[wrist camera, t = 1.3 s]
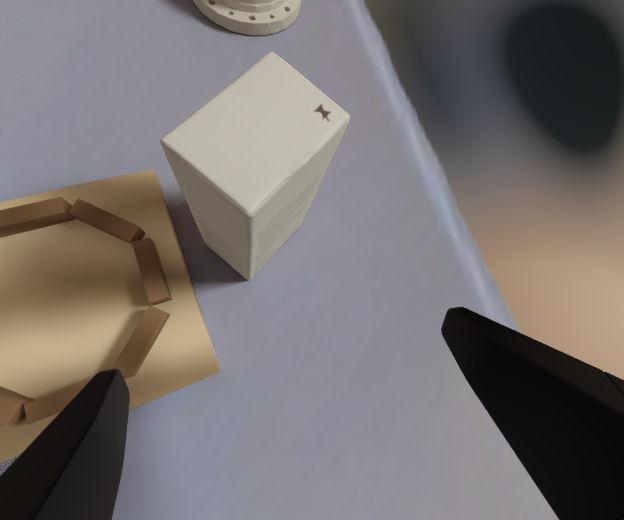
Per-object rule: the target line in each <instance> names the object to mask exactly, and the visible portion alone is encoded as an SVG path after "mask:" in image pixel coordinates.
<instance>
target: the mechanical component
mask: <svg viewBox="0 0 624 520" xmlns="http://www.w3.org/2000/svg"><path fill="white" fill-rule="evenodd" d="M192 1H193V2H194V4H195V5H196V6H197V7H198V9H199V10H200V11H201V12H202V13H203V14H204V15H205V16H207V17H208V18H209V19H210V20H212V21H213V22H214V23H216V24H218V25H220V26H222V27H224V28H226V29H228V30H230V31H233V32H238V33H242V34H247V35H268V34H274V33H276V32H279V31H281V30H284V29H286V28H287V27H288V26H289V25H290V24H292V23H293V22H294V21H295V19H296V18H297V16H298V14H299V10H300V6H301V1H302V0H192Z"/></svg>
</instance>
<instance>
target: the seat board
mask: <svg viewBox="0 0 624 520" xmlns="http://www.w3.org/2000/svg"><path fill="white" fill-rule="evenodd" d="M115 368H116V369H119V370H120V371H121V373H122V375H123V377H124V380H125V382H126V384H127V387H128V389H129V392H130V404H129V409H132V408H134V407H137V406H139V405H141V404H144V403H146V402H148V401H151V400H153V399H156V398H158V397H160V396H163V395H165V394H168V393H170V392H172V391H175V390H177V389H180V388H182V387H184V386H187V385H189V384H192V383H194V382H196V381H199V380H201V379H204V378H206V377H208V376H211V375H213V374H216V373H218V372H219V371H220V368H219V365H218V362H217V359H216V355H215V352H214V349H213V346H212V343H211V340H210V337H209V334H208V331H207V328H206V325H205V322H204V319H203V316H202V313H201V310H200V306H199V303H198V300H197V297H196V294H195V291H194V288H193V285H192V282H191V279H190V276H189V273H188V270H187V267H186V264H185V261H184V257H183V254H182V251H181V248H180V245H179V242H178V239H177V236H176V233H175V230H174V227H173V224H172V221H171V218H170V215H169V212H168V209H167V205H166V202H165V199H164V196H163V193H162V190H161V187H160V184H159V181H158V178H157V176H156V174H155V172H154V170H153V169H149V170H145V171H140V172H135V173H131V174H126V175H122V176H117V177H112V178H108V179H103V180H99V181H94V182H89V183H85V184H80V185H76V186H71V187H66V188H62V189H57V190H52V191H48V192H43V193H39V194H34V195H29V196H25V197H20V198H16V199H11V200H6V201H2V202H0V463H2V462H5V461H7V460H10V459H12V458H14V457H17V456H19V455H20V454H21V453H22V452H23V451H24V450H25V449H26V448H27V447H28V446H29V445H30V444H31V443H32V442H33V440H34V439H35V438H36V437H37V436H38V435H39V434H40V433H41V432H42V431H43V430H44V429H45V428H46V427H47V426H48V424H49V423H50V422H51V421H52V420H53V419H54V418H55V417H56V416H57V415H58V414H59V413H60V412H61V411H62V410H63V408H64V407H65V406H66V405H67V404H68V403H69V402H70V401H71V400H72V399H73V398H74V397H75V396H76V395H77V394H78V392H79V391H80V390H81V389H82V388H83V387H84V386H85V385H86V384H87V383H88V382H89V381H90V380H91V379H92V378H93V376H94V375H95V374H97V373H98V372H100V371H104V370H110V369H115Z"/></svg>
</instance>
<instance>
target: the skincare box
mask: <svg viewBox="0 0 624 520" xmlns="http://www.w3.org/2000/svg"><path fill="white" fill-rule="evenodd" d="M349 120H350V115H349V114H348V113H347V112H346V111H344V110H343V109H342V108H341V107H340V106H338V105H337V104H336V103H335V102H333V101H332V100H331V99H330V98H329V97H327V96H326V95H325V94H324V93H323V92H321V91H320V90H319V89H318V88H317V87H315V86H314V85H313V84H312V83H311V82H309V81H308V80H307V79H306V78H305V77H304V76H302V75H301V74H300V73H299V72H298V71H296V70H295V69H294V68H293V67H292V66H290V65H289V64H288V63H287V62H285V61H284V60H283V59H282V58H280V57H279V56H278V55H276V54H275V53H273V52H269V53H268V54H267V55H265V56H264V57H263V58H262V59H260V60H259V61H258V62H257V63H255V64H254V65H253V66H252V67H250V68H249V69H248V70H247V71H245V72H244V73H243V74H242V75H240V76H239V77H238V78H237V79H235V80H234V81H233V82H232V83H231V84H229V85H228V86H227V87H226V88H224V89H223V90H222V91H221V92H220V93H218V94H217V95H216V96H215V97H214V98H212V99H211V100H210V101H209V102H207V103H206V104H205V105H204V106H202V107H201V108H200V109H198V110H197V111H196V112H195V113H193V114H192V115H191V116H190V117H188V118H187V119H186V120H185V121H184V122H182V123H181V124H180V125H179V126H177V127H176V128H175V129H173V130H172V131H171V132H170V133H168V134H167V135H165V136H164V137H163V138H162V139H161V141H160V142H161V145H162V147H163V150H164V152H165V154H166V157H167V159H168V161H169V163H170V166H171V168H172V170H173V172H174V175H175V177H176V179H177V181H178V184H179V186H180V188H181V191H182V193H183V195H184V197H185V199H186V201H187V204H188V206H189V208H190V211H191V213H192V215H193V217H194V220H195V222H196V224H197V227H198V229H199V231H200V233H201V236H202V238H203V240H204V243H205V244H206V245H207V246H208V247H209V248H211V249H212V250H213V251H214V252H215V253H216V254H218V255H219V256H220V257H221V258H222V259H223V260H224V261H226V262H227V263H228V264H229V265H230V266H231V267H233V268H234V269H235V270H236V271H237V272H238V273H240V274H241V275H242V276H243V277H244V278H245V279H247V280H251V279H252V278H253V277H254V275H255V274H256V273H257V272H258V271H259V270H260V269H261V268H262V267H263V266H264V264H265V263H266V262H267V261H268V260H269V259H270V258H271V257H272V256H273V255H274V253H275V252H276V251H277V250H278V249H279V248H280V247H281V246H282V245H283V243H284V242H285V241H286V240H287V239H288V238H289V237H290V236H291V235H292V233H293V232H294V231H295V230H296V229H297V228H298V227H299V226H300V225H301V223H302V221H303V219H304V217H305V215H306V213H307V211H308V208H309V206H310V204H311V202H312V200H313V197H314V195H315V193H316V191H317V189H318V187H319V185H320V183H321V180H322V178H323V176H324V174H325V172H326V170H327V168H328V165H329V163H330V161H331V159H332V157H333V155H334V153H335V151H336V149H337V147H338V145H339V143H340V140H341V138H342V136H343V134H344V132H345V129H346V127H347V125H348V122H349Z"/></svg>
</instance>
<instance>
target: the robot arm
mask: <svg viewBox="0 0 624 520" xmlns="http://www.w3.org/2000/svg"><path fill="white" fill-rule="evenodd" d="M441 331H442V335H443V338H444V339H445V341H446V343H447V345H448V347H449V349H450V351H451V352H452V354H453V356H454V358H455V360H456V362H457V364H458V365H459V367H460V369H461V371H462V373H463V375H464V376H465V378H466V380H467V381H468V383H469V385H470V386H471V388H472V389H473V391H474V392H475V394H476V395H477V397H478V398H479V400H480V401H481V403H482V404H483V406H484V407H485V409H486V410H487V412H488V413H489V415H490V416H491V418H492V419H493V421H494V422H495V424H496V425H497V427H498V428H499V430H500V431H501V433H502V434H503V436H504V437H505V439H506V440H507V442H508V443H509V445H510V446H511V448H512V449H513V451H514V452H515V454H516V455H517V457H518V458H519V460H520V461H521V463H522V464H523V466H524V467H525V469H526V470H527V472H528V473H529V475H530V476H531V478H532V480H533V481H534V483H535V484H536V486H537V487H538V489H539V490H540V492H541V493H542V495H543V496H544V498H545V499H546V501H547V502H548V504H549V505H550V507H551V508H552V510H553V511H554V513H555V514H556V516H557V517H558V519H559V520H624V380H622V379H620V378H618V377H615V376H614V375H611V374H609V373H607V372H603V371H602V370H600V369H598V368H596V367H593V366H591V365H589V364H587V363H585V362H582V361H580V360H578V359H576V358H574V357H572V356H570V355H567V354H565V353H563V352H561V351H558V350H556V349H554V348H552V347H550V346H548V345H545V344H543V343H541V342H539V341H537V340H534V339H532V338H530V337H528V336H526V335H523V334H521V333H519V332H517V331H515V330H512V329H510V328H508V327H506V326H504V325H501V324H499V323H497V322H495V321H493V320H491V319H488V318H486V317H484V316H482V315H480V314H477V313H475V312H473V311H471V310H469V309H466V308H464V307H455V308H450V309H449V310H448V311H447V313H446V316H445V319H444V322H443V325H442V328H441ZM129 404H130V392H129V389H128V387H127V384H126V382H125V380H124V377H123V375H122V373H121V371H120V370H119V369H116V368H115V369H110V370H104V371H100V372H98V373H97V374H95V375H94V376H93V378H92V379H91V380H90V381H89V382H88V383H87V384H86V385H85V386H84V387H83V388H82V389H81V390H80V391H79V392H78V394H77V395H76V396H75V397H74V398H73V399H72V400H71V401H70V402H69V403H68V404H67V405H66V406H65V407H64V408H63V410H62V411H61V412H60V413H59V414H58V415H57V416H56V417H55V418H54V419H53V420H52V421H51V422H50V423H49V424H48V426H47V427H46V428H45V429H44V430H43V431H42V432H41V433H40V434H39V435H38V436H37V437H36V438H35V439H34V440H33V442H32V443H31V444H30V445H29V446H28V447H27V448H26V449H25V450H24V451H23V452H22V453H21V454H20V455H19V457H18V458H17V459H16V460H15V461H14V462H13V463H12V464H11V465H10V466H9V467H8V468H7V469H6V470H5V471H4V473H3V474H2V475H1V476H0V520H112V515H113V510H114V506H115V501H116V497H117V492H118V487H119V483H120V478H121V473H122V468H123V461H124V452H125V442H126V433H127V423H128V413H129Z"/></svg>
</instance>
